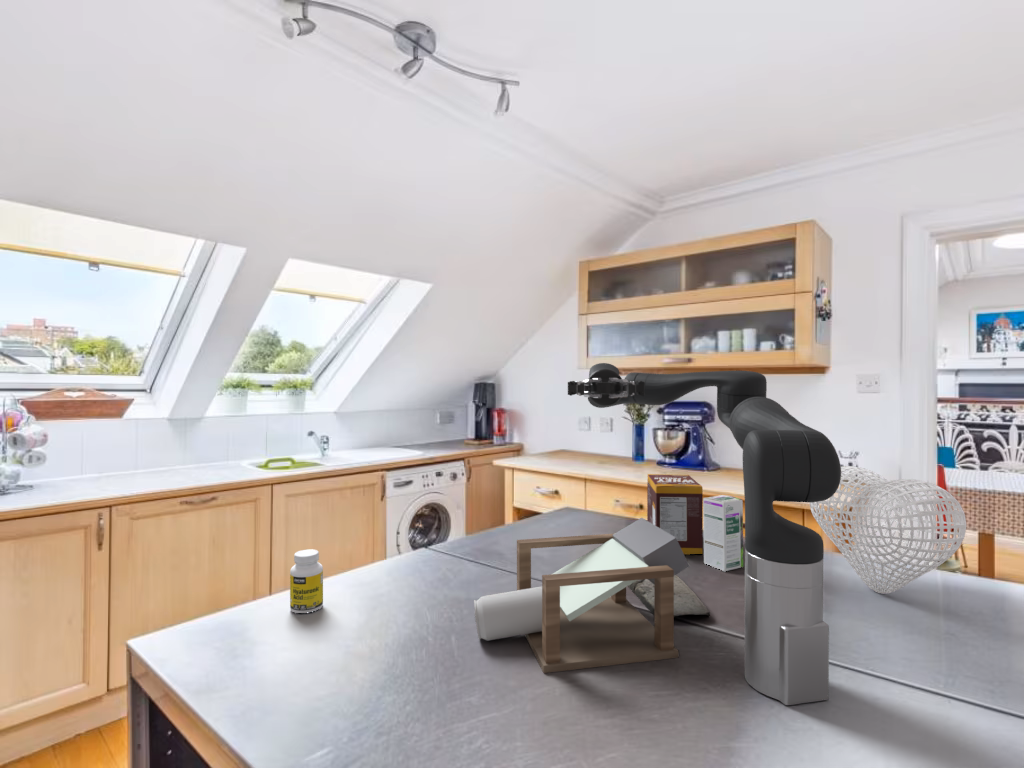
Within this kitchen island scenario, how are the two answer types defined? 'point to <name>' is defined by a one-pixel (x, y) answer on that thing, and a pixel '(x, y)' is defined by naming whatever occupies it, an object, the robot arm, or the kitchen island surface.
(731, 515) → the syrup box
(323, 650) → the kitchen island surface
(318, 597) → the supplement bottle
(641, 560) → the trapdoor plate
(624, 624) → the wooden rack
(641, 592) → the stone slab
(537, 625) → the beverage can
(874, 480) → the heart
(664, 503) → the supplement box
